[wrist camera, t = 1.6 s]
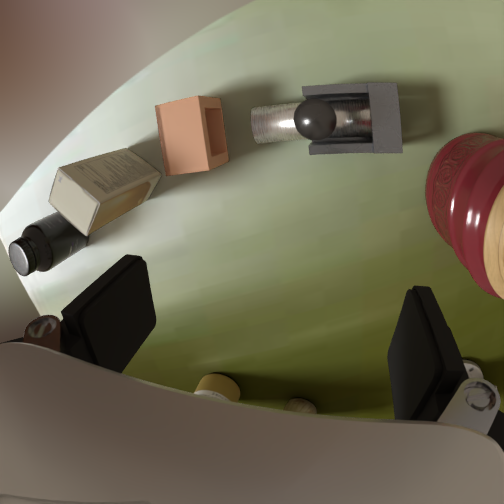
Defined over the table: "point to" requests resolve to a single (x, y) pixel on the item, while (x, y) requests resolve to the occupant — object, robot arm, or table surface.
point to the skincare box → (102, 188)
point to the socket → (192, 135)
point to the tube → (311, 120)
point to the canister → (471, 205)
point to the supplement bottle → (45, 244)
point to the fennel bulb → (300, 406)
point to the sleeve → (381, 114)
